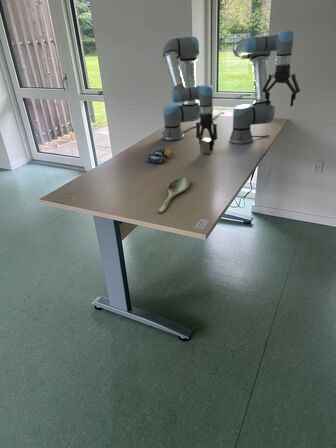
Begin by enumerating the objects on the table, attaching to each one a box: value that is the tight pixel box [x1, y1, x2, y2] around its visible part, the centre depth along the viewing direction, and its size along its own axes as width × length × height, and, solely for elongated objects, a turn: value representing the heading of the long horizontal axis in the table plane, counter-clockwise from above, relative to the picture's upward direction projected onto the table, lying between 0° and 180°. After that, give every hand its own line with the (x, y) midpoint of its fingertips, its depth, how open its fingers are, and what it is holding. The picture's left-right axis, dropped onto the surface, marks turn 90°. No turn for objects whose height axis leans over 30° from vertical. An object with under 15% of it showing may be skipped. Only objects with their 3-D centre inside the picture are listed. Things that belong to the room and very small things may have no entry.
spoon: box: [157, 177, 191, 213], centre depth 166 cm, size 35×11×2 cm, turn 159°
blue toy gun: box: [144, 147, 175, 165], centre depth 212 cm, size 21×4×15 cm
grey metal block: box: [199, 137, 214, 155], centre depth 213 cm, size 6×6×8 cm
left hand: (206, 149), depth 214 cm, fingers closed on grey metal block, 6 cm apart
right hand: (279, 105), depth 190 cm, fingers open, 13 cm apart
